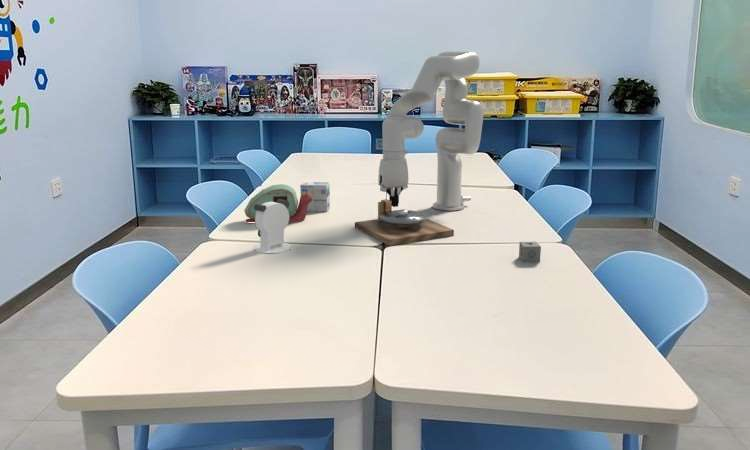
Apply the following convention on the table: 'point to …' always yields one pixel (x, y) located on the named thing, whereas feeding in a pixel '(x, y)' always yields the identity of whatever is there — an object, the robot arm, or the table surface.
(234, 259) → the table surface
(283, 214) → the white mount stand
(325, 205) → the light bulb box
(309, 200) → the toy snail
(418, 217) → the flange plate
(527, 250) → the dice cube
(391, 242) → the pivot base
